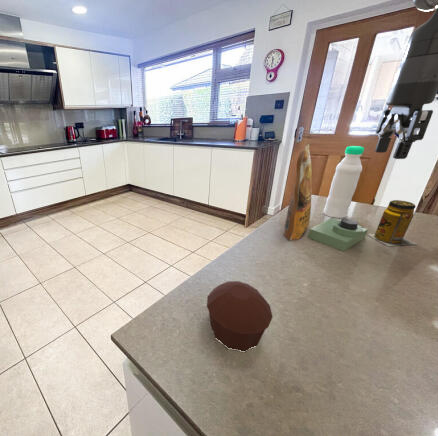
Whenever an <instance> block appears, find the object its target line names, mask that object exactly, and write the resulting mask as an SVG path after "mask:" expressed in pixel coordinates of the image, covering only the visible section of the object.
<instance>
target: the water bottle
mask: <svg viewBox="0 0 438 436" xmlns="http://www.w3.org/2000/svg"><path fill="white" fill-rule="evenodd" d="M364 151H365V147H364V146H361V145H349V146H347V147H346V148H345V150H344V155H345V156H344V157H343V158H342V159H341V161H340V162H339V163H338V164H337V165H336V167H335V173H334V174H333V177H332V181H331V184H330V188H329V193H328V195H327V199H326V201H325V202H326V203H325V206H324V208H323V214H324V215H325V216H328V217H330V218H333V219H345V218H346V217H347V216H348V213H349V210H350V209H349V208H350V206H351V204H352V198H353V196H354V194H355V191H356V190H357V186H358V183H359V180H360V176H361V173H362V171H363V165H362V161H361V156H363V154H364Z"/></svg>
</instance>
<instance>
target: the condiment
mask: <svg viewBox="0 0 438 436" xmlns="http://www.w3.org/2000/svg"><path fill="white" fill-rule="evenodd" d="M415 209H416V204H415V203H413V202H411V201H406V200H400V199H394V200H393V199H392V200H390V201H389V202H388V205H387V207H386V208H385V209H384V211H383V212H382V216H381V218H380V220H379V223H378V225H377V228H376V230H375V232H374V233H367V236H369V237H370V238H372V239H374V240H376V241H378V242H379V243H381V244H384V245H385V246H387V247H392V246H393V247H395V246H396V247H397V246H398V247H399V246H411V245H417V243H416V242H413V241H411V240H409V239H407V238H405V235H406V233H407V231H408V229H409V227H410V225H411V222H412V221H413V218H414V215H415V214H414V212H415Z"/></svg>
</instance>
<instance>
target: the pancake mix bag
mask: <svg viewBox="0 0 438 436" xmlns="http://www.w3.org/2000/svg"><path fill="white" fill-rule="evenodd" d="M310 145H311V143H310V142H309V143H307V144H306V145H305V146H303V148H302V149H301V151H299V152H298V153H299V154H298V158H297V162H296V173H295V174H296V175H295V182H294V185H293V189H292V193H291V196H290V199H289V203H288V207H287V213H286V218H285V222H284V223H285V224H284V232H283V237H284V238H285V239H286V240H287V241H289V242H291V241H292V240H297V241H298V240H299V239H301V238H302V236H303V234H304V233H305V231H306V230H307V228H308V227H309V225H310V221H311V214H312V213H311V212H312V185H313V180H312V176H313V171H312V170H313V168H312V160H311V159H312V158H311V153H310Z"/></svg>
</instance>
